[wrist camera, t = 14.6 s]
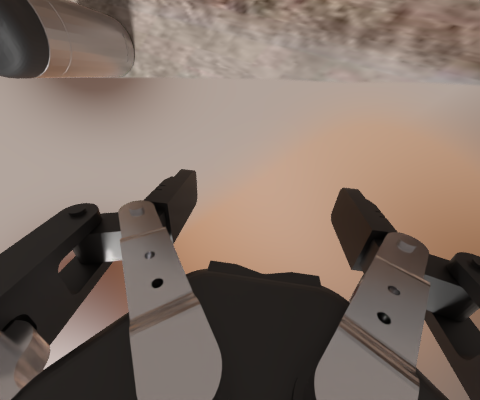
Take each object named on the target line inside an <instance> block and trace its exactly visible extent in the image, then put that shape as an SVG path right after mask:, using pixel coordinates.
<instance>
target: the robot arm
mask: <svg viewBox="0 0 480 400" xmlns="http://www.w3.org/2000/svg"><path fill="white" fill-rule="evenodd" d="M133 63H134V48H133V44H132V41H131V39H130V36H129V35H128V33H127V31H126V30H125V28H124V27H123V26H122V25H121V24H120V23H119V22H118V21H117V20H116V19H114V18H113V17H111V16H108V15H106V14H103V13H100V12H98V11H95V10H93V9H90V8H87V7H85V6H82V5H79V4H77V3H74V2H71V1H68V0H0V76H3V77H8V78H58V77H59V78H62V77H63V78H67V77H121V76H124V75H126V74H127V73H128V72H129V71H130V70H131V68H132V66H133ZM196 202H197V180H196V172H195V171H193V170H184V169H181V170H180V171H179V172H178V173H177V174H176V175H175V176H174V177H170V178H167V179H165V180H164V181H163V182H162V183H161V184H159V186H158V187H156V189H155V190H154V191H152V192H151V193H150V195H149V196H147V197H146V199H144V200H143V201H141V200H140V201H133V202H130V203H127V204H126V205H124V206H122V207H121V208H120V209H119V211H118V212H117V213H103V214H100V212H99V209H98V207H97V206H96V205H95V204H90V203H83V204H77V205H73V206H70V207H68V208H65V209H64V210H62V211H60V212H59V213H58V214H56V215H55V216H53V217H52V218H50V219H49V220H48V221H46V222H45V223H44V224H42V225H41V226H39V227H38V228H36V229H35V230H34V231H32V232H31V233H30V234H28V235H26V236H25V237H24V238H22V239H21V240H19V241H18V242H17V243H15V244H14V245H12V246H11V247H9V248H8V249H7V250H5V251H4V252H2V253H1V254H0V400H449V399H448V398H447V397H446V396H445V395H444V394H443V393H441V391H439V390H438V389H437V388H436V387H435V386H434V385H433V384H432V383H431V382H430V381H429V380H428V379H427V378H426V377H425V376H424V375H423V374H422V373H421V372H420V371H419V370H418V369H417V368H416V363H417V357H418V352H419V346H420V341H421V334H422V329H423V324H424V320H425V321H426V323H427V325H428V327H429V328H430V330H431V332H432V334H433V335H434V337H435V339H436V341H437V342H438V344H439V346H440V347H441V349H442V351H443V353H444V354H445V356H446V358H447V360H448V361H449V363H450V365H451V367H452V368H453V370H454V372H455V373H456V375H457V377H458V379H459V381H460V382H461V384H462V386H463V387H464V389H465V391H466V393H467V394H468V396H469V398H470V400H480V331H479V330H478V328H477V327H476V326H475V325H474V323H473V322H472V321H471V319H470V318H469V316H470V315H472V314H473V313H474V312H475V311H476V310H478V309H479V308H480V257H479V256H476V255H473V254H470V253H463V252H460V253H457V254H456V255H455V256H454V257H453V258H452V259H451V260H450V261H449V260H446V259H443V258H440V257H437V256H434V255H430V254H429V251H428V249H427V248H426V246H425V245H424V244H423V243H421V242H420V241H418V240H417V239H415V238H413V237H411V236H409V235H406V234H403V233H398V232H397V231H396V230H395V229H394V227H393V226H392V225H391V223H390V222H389V221H388V220H387V219H386V218H385V216H384V215H383V214H382V213H381V211H380V210H379V209H378V208H377V206H376V205H374V204H373V203H372V202H370V201H369V200H367V199H365V197H364V196H363V195H362V194H361V192H360V191H359V190H358V189H350V188H342V189H341V190H340V192H339V195H338V197H337V200H336V203H335V206H334V208H333V211H332V214H331V221H332V224H333V227H334V229H335V232H336V234H337V236H338V239H339V241H340V244H341V246H342V248H343V251H344V253H345V255H346V258H347V260H348V263H349V265H350V267H351V270H357V271H363V273H364V275H363V276H362V278H361V280H360V281H359V283H358V285H357V287H356V289H355V291H354V293H353V294H352V296H351V298H350V299H349V301H347V300H346V299H344V298H343V297H341V296H340V295H339V294H337V293H335V292H333V291H332V290H330V289H328V288H326V287H323V286H321V283H320V279H319V276H313V275H307V274H300V273H293V272H288V273H275V274H261V273H258V272H256V271H253V270H250V269H248V268H245V267H242V266H240V265H237V264H231V263H223V262H217V261H210V264H209V267H208V269H203V270H197V271H194V272H191V273H188V274H186V275H185V272H184V270H183V267H182V265H181V263H180V261H179V258H178V256H177V253H176V251H175V248H174V246H173V243H174V242H175V240H176V238H177V237H178V235H179V233H180V232H181V230H182V228H183V226H184V224H185V223H186V221H187V219H188V217H189V216H190V214H191V212H192V210H193V209H194V207H195V205H196ZM72 250H73V251H74V253H75V255H76V256H75V257H74V258H73V259H72V260H71V261H70V262H69V263H68V264H67V265H66V266H65V267H64V268H63V269H62V270H61V272H59V273H58V267H59V264H60V262H61V260H62V259H63V258H64V257H65V256H66V255H67V254H68V253H69V252H70V251H72ZM117 260H122V263H123V271H124V278H125V286H126V294H127V301H128V309H129V312H128V313H127V314H125V315H124V316H122V317H121V318H119V319H118V320H116V321H115V322H114V323H112V324H110V325H109V326H108V327H106V328H105V329H103V330H102V331H100V332H99V333H97V334H96V335H95V336H93V337H91V338H90V339H89V340H87V341H86V342H84V343H83V344H81V345H80V346H78V347H77V348H75V349H74V350H72V351H71V352H69V353H68V354H67V355H65V356H64V357H62V358H61V359H59V360H58V361H56V362H55V363H53V364H52V365H50V366H49V367H47V368H46V369H45V370H43V368H44V367H45V365H46V363H47V361H48V359H49V355H50V344H51V343H52V342H53V340H54V339H55V338H56V337H57V335H58V334H59V333H60V331H61V330H62V329H63V327H64V326H65V325H66V323H67V322H68V321H69V319H70V318H71V317H72V315H73V314H74V313H75V311H76V310H77V309H78V307H79V306H80V305H81V303H82V302H83V301H84V299H85V298H86V297H87V295H88V294H89V293H90V292H91V290H92V289H93V288H94V286H95V285H96V284H97V282H98V281H99V279H100V278H101V277H102V275H103V274H104V273H105V272H106V270H107V269H108V268H109V266H110V265H111V264H112V262H113V261H117Z"/></svg>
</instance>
